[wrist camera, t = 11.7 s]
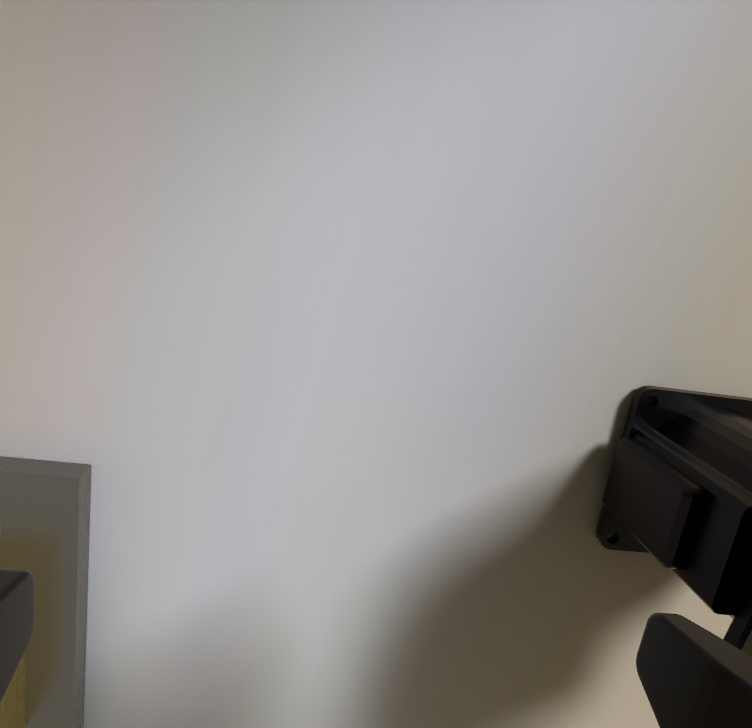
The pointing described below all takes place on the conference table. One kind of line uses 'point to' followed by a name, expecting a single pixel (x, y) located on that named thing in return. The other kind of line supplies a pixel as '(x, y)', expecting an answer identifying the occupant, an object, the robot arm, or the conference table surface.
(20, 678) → the yellow rectangular frame
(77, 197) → the conference table surface
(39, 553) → the keeper plate
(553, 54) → the conference table surface
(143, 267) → the conference table surface
